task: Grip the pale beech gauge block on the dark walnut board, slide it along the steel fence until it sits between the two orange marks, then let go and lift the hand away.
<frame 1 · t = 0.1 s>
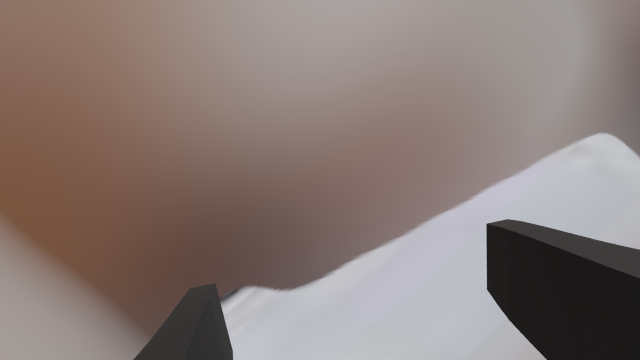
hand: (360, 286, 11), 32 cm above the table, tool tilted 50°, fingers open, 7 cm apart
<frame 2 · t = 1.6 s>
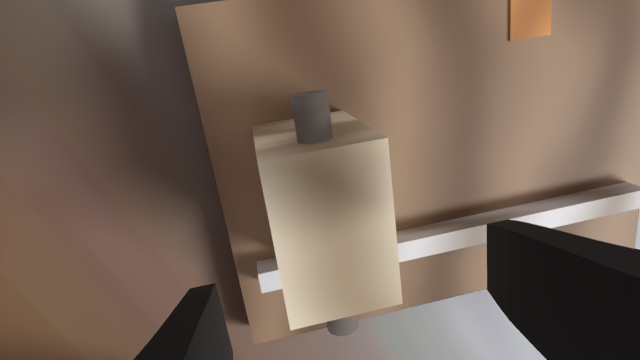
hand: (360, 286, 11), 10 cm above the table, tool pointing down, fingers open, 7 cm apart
walnut board: (436, 148, 21), on the table
gauge block: (307, 182, 19), point 1 cm above the table, touching walnut board
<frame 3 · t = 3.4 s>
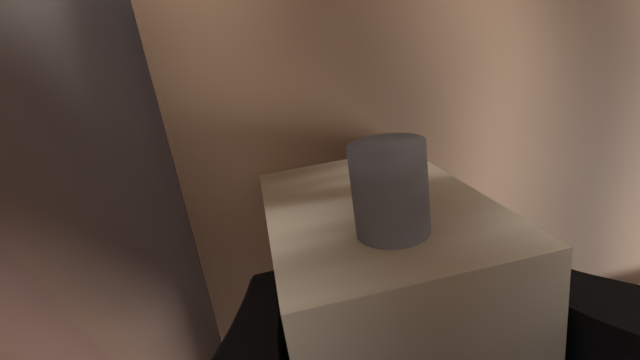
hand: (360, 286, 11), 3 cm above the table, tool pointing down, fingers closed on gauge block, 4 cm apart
walnut board: (532, 195, 14), on the table
gauge block: (347, 260, 12), point 1 cm above the table, touching gripper, walnut board
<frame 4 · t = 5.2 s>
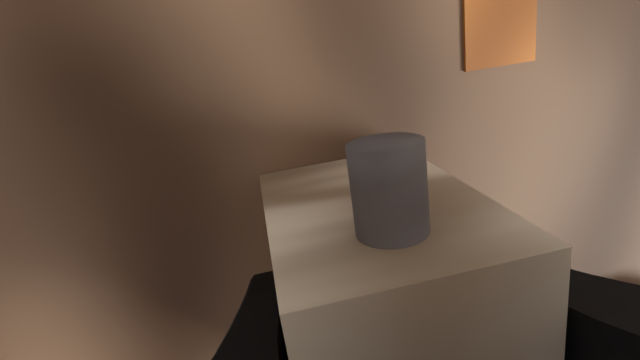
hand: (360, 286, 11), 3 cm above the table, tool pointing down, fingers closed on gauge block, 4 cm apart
walnut board: (358, 233, 13), on the table
gauge block: (347, 259, 12), point 2 cm above the table, touching gripper
when the fingers open (3 cm above the table, at t = 7.5 s): gauge block stays where it is, resting on walnut board.
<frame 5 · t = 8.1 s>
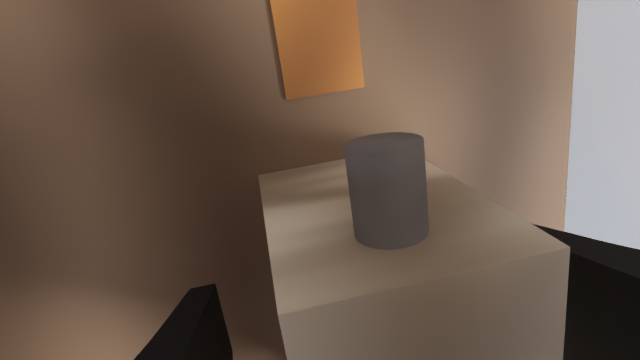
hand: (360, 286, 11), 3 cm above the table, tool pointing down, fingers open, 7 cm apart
walnut board: (211, 264, 13), on the table
gauge block: (346, 259, 12), point 1 cm above the table, touching walnut board
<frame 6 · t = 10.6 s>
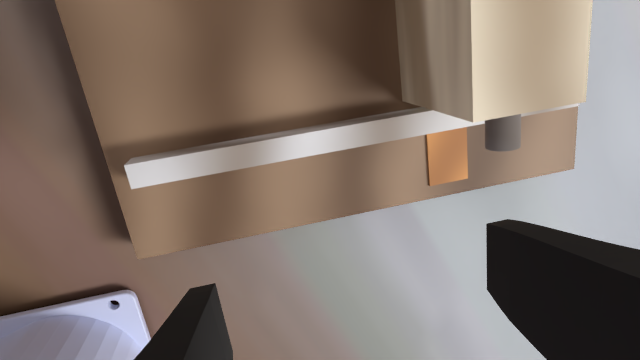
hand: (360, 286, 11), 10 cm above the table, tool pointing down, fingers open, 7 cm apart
walnut board: (344, 38, 19), on the table
gauge block: (440, 24, 18), point 1 cm above the table, touching walnut board
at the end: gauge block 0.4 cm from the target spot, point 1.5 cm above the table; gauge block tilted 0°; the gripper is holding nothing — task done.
